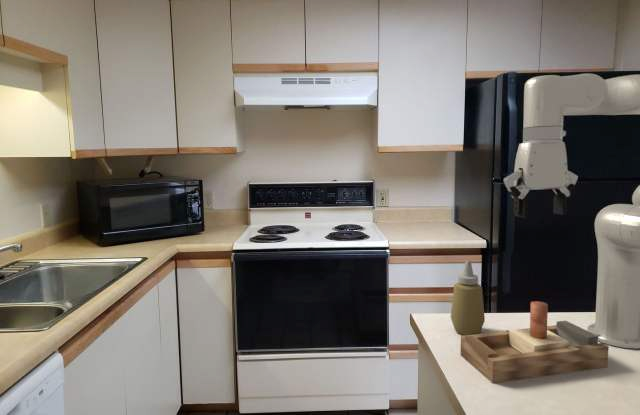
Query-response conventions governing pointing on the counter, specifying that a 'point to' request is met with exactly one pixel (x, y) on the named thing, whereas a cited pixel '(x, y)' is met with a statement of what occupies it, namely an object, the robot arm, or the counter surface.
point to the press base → (533, 354)
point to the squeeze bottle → (467, 303)
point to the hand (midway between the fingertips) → (540, 215)
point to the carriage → (536, 333)
